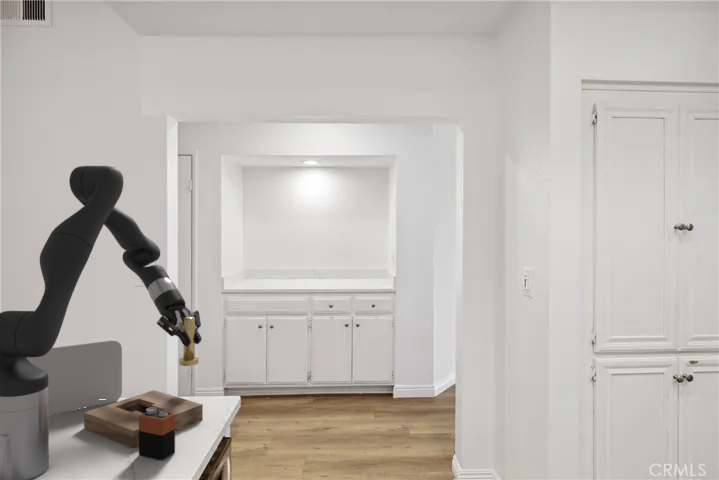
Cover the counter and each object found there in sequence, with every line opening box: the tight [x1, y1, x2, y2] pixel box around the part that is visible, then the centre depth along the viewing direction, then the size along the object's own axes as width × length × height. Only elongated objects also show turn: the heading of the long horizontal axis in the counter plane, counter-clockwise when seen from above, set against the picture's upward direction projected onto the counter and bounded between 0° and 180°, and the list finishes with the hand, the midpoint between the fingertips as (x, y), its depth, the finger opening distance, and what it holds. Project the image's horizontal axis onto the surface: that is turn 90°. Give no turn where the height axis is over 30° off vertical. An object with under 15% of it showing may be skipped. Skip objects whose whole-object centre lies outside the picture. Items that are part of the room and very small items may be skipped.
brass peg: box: [178, 317, 199, 367], centre depth 141 cm, size 5×5×13 cm
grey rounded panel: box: [26, 336, 123, 416], centre depth 137 cm, size 29×8×18 cm, turn 129°
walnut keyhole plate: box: [83, 389, 204, 449], centre depth 127 cm, size 20×20×4 cm
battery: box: [138, 408, 176, 461], centre depth 111 cm, size 4×7×10 cm, turn 70°
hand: (193, 343), depth 140 cm, fingers closed on brass peg, 3 cm apart
